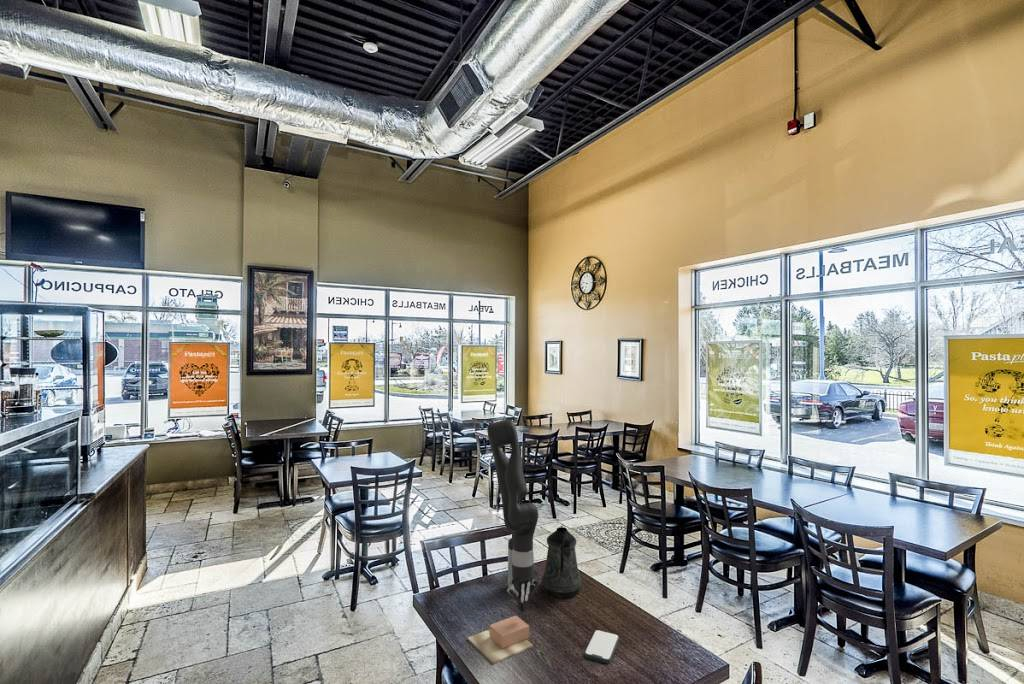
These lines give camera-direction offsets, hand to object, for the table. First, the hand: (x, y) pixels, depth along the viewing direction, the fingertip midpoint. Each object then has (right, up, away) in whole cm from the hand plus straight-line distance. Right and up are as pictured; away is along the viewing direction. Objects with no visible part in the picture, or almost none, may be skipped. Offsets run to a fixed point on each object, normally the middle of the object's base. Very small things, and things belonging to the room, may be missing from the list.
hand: (522, 611), depth 171 cm
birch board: (-8, -8, -5) cm, 12 cm away
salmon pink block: (0, -5, 0) cm, 5 cm away
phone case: (+27, -9, -7) cm, 29 cm away
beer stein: (+18, -9, +32) cm, 38 cm away
